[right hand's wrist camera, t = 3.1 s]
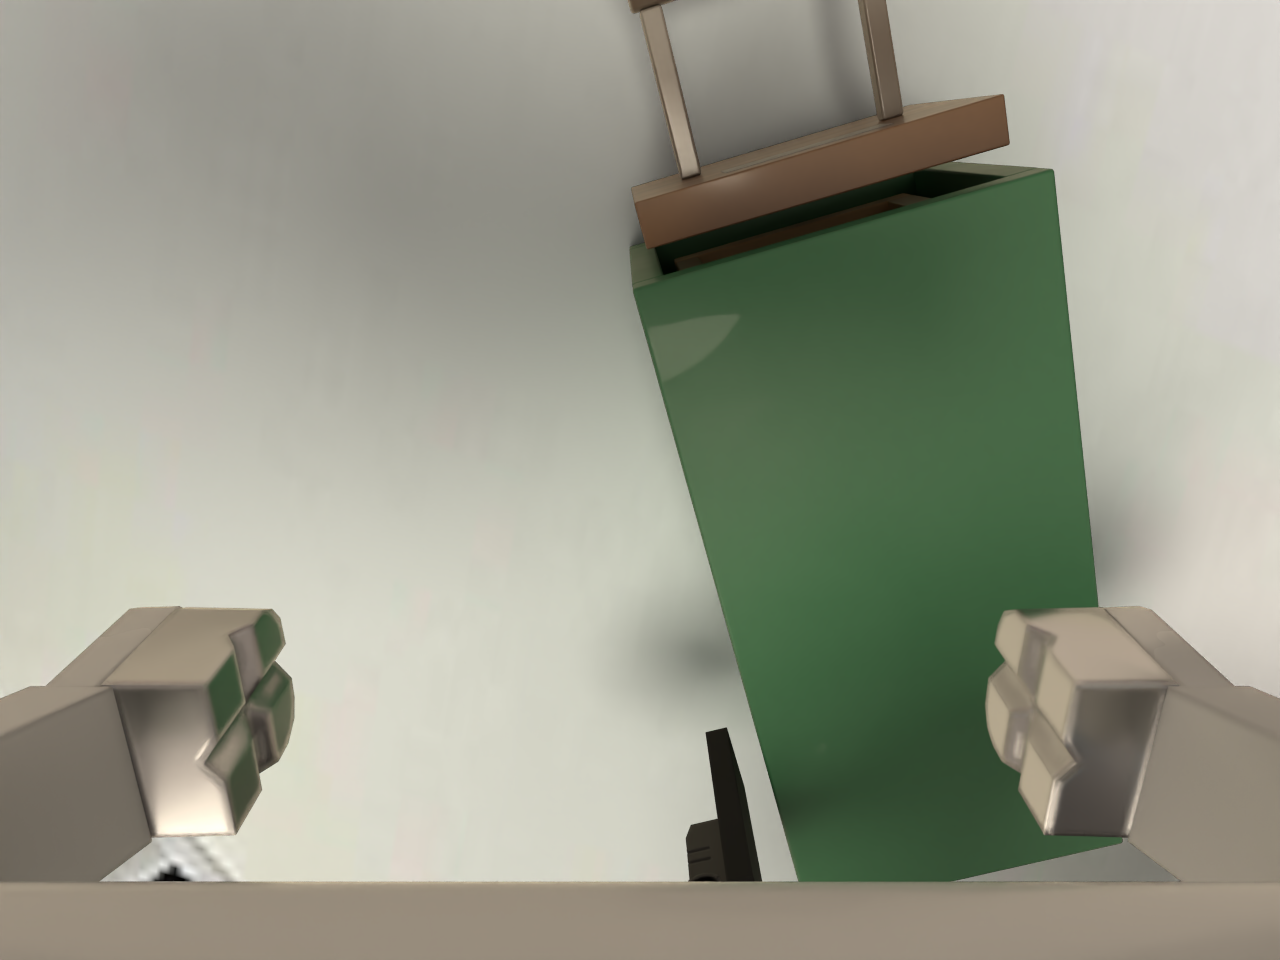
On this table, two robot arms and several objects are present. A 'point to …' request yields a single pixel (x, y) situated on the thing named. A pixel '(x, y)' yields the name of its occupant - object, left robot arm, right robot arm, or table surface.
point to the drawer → (803, 152)
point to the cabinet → (883, 500)
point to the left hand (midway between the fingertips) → (916, 713)
